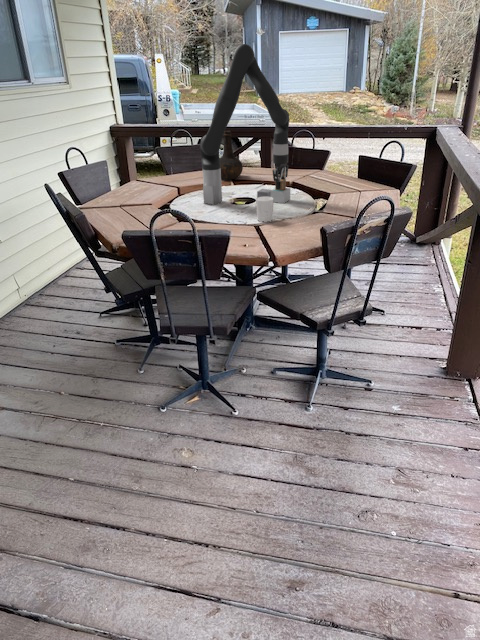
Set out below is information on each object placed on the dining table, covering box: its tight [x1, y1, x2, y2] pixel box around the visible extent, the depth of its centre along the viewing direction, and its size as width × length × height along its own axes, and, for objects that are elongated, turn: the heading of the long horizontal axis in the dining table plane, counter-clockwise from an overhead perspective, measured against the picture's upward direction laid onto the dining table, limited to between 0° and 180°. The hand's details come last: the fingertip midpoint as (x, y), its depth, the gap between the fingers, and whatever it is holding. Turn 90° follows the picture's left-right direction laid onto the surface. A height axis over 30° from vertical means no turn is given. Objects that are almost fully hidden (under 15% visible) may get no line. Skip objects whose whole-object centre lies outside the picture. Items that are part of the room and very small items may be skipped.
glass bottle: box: [219, 129, 244, 181], centre depth 297 cm, size 18×18×28 cm
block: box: [274, 178, 287, 191], centre depth 250 cm, size 4×4×9 cm
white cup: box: [255, 196, 274, 222], centre depth 222 cm, size 8×8×10 cm
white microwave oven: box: [270, 187, 291, 204], centre depth 251 cm, size 8×8×6 cm
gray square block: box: [256, 188, 272, 198], centre depth 256 cm, size 6×6×4 cm
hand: (280, 187), depth 250 cm, fingers open, 4 cm apart
